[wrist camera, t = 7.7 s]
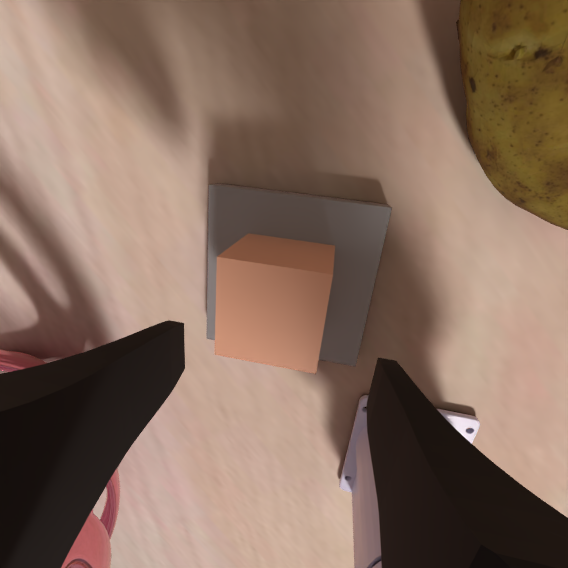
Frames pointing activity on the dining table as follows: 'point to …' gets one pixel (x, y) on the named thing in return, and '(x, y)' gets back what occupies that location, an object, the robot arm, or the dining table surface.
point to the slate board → (312, 228)
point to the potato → (519, 99)
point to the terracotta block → (273, 301)
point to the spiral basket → (95, 533)
